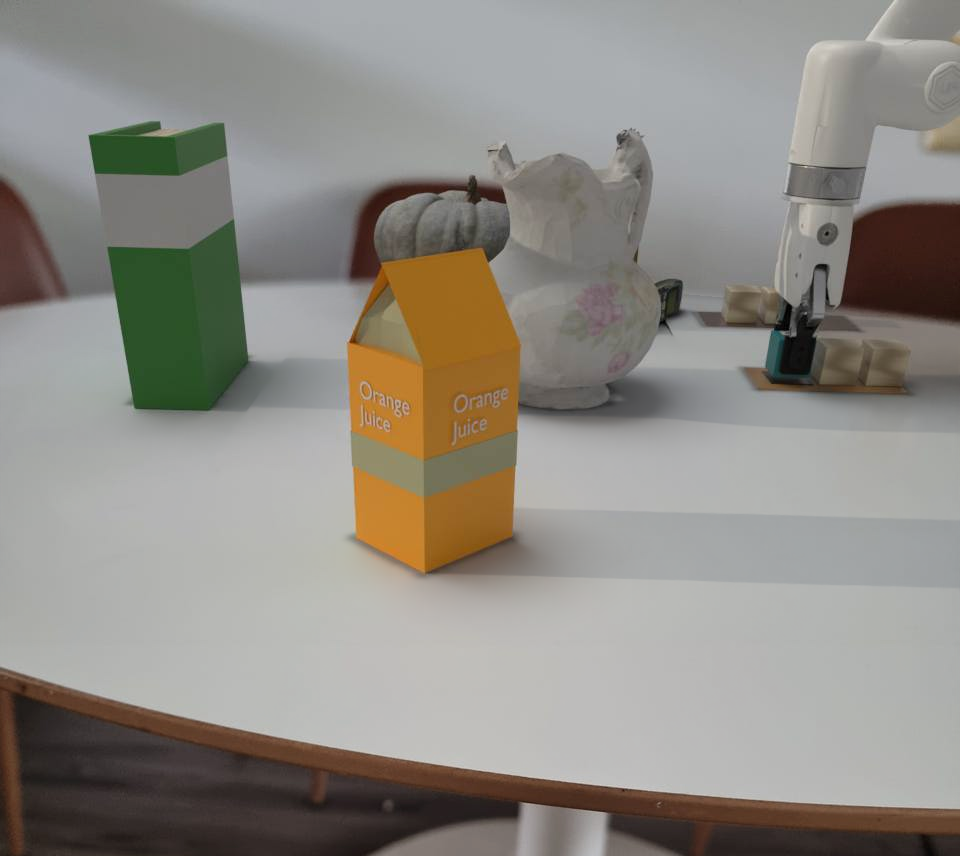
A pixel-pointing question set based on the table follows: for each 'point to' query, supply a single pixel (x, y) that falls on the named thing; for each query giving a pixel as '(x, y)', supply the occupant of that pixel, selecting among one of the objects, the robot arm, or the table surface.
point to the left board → (822, 325)
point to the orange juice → (434, 410)
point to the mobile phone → (669, 297)
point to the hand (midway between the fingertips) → (788, 365)
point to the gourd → (442, 225)
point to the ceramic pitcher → (576, 271)
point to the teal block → (779, 355)
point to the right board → (846, 368)
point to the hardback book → (172, 260)
